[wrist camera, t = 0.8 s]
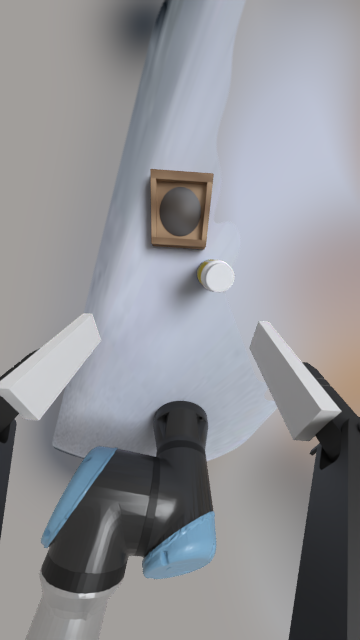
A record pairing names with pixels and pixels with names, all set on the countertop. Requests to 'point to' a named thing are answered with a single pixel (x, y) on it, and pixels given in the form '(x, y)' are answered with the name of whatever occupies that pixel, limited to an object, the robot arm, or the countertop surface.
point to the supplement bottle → (215, 275)
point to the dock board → (180, 208)
